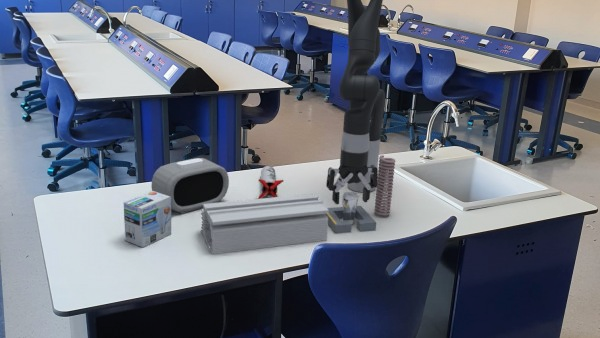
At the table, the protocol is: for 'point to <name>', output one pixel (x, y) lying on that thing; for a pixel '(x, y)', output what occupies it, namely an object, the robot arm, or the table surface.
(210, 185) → the alarm clock
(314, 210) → the aluminum extrusion profile
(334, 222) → the grey flat c-shaped piece
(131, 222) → the light bulb box
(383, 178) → the coil
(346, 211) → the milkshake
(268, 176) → the model rocket
